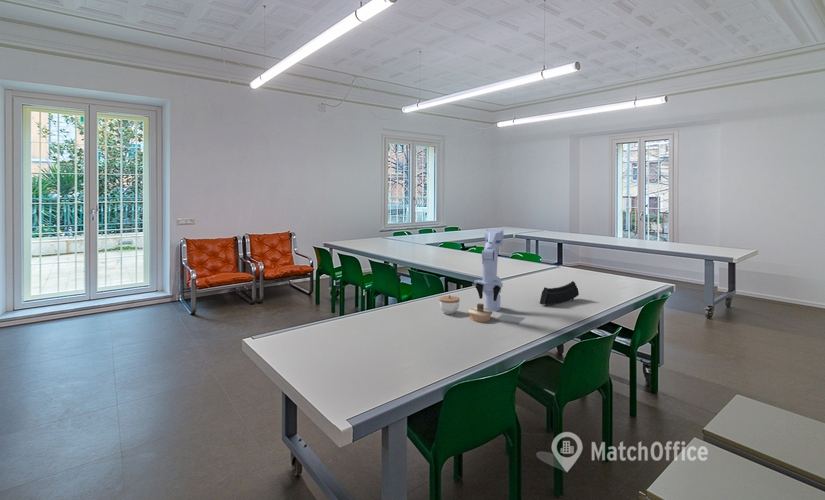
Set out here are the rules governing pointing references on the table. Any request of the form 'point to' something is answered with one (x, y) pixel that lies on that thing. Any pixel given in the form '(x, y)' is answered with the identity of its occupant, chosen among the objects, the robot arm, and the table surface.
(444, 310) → the lidded jar
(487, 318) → the dish
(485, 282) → the robot arm
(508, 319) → the mat
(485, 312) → the lid
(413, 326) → the table surface
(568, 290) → the magazine
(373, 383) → the table surface
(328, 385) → the table surface
